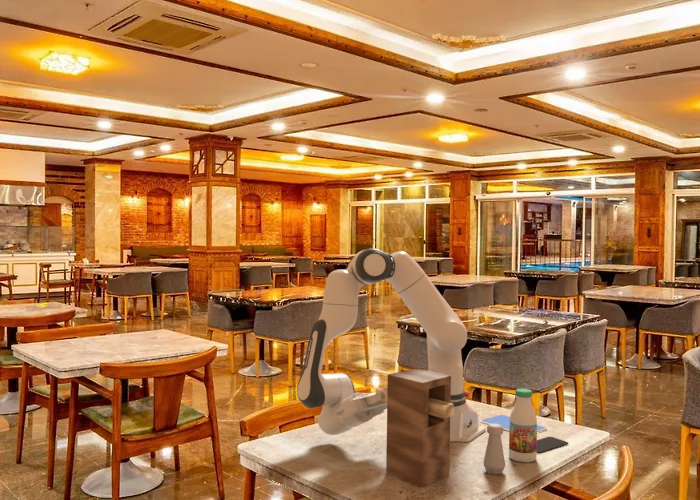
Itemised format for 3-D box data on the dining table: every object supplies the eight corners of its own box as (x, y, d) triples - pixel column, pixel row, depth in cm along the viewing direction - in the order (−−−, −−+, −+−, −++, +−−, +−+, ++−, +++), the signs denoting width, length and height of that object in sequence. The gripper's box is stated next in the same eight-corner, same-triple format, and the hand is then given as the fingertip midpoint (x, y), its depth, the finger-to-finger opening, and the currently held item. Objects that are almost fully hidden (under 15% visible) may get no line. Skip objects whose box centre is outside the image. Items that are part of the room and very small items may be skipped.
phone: (519, 445, 189) (549, 436, 198) (519, 448, 189) (549, 438, 198) (539, 452, 183) (569, 442, 192) (539, 455, 183) (569, 445, 192)
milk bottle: (505, 453, 183) (506, 386, 182) (530, 453, 184) (531, 386, 183) (514, 463, 175) (515, 393, 175) (540, 463, 176) (542, 393, 175)
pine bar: (385, 396, 177) (385, 386, 177) (453, 415, 160) (453, 403, 160) (375, 399, 174) (375, 388, 174) (444, 418, 157) (444, 406, 157)
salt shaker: (505, 477, 165) (506, 429, 165) (483, 475, 167) (484, 427, 166) (504, 468, 171) (505, 422, 171) (483, 467, 172) (484, 420, 172)
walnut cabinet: (414, 462, 175) (416, 368, 174) (449, 475, 166) (450, 375, 165) (386, 474, 166) (387, 374, 165) (421, 487, 158) (422, 382, 157)
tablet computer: (478, 423, 214) (478, 419, 214) (501, 417, 221) (502, 413, 221) (524, 438, 198) (524, 434, 198) (548, 431, 206) (548, 427, 206)
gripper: (328, 405, 176) (359, 389, 167) (377, 392, 190) (408, 377, 181) (336, 426, 174) (367, 411, 165) (385, 412, 188) (416, 397, 179)
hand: (389, 393), depth 173 cm, fingers closed on pine bar, 4 cm apart
